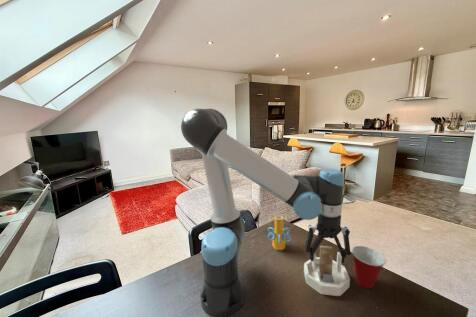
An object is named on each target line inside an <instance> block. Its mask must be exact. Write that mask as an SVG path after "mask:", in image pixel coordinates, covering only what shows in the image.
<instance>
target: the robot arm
mask: <svg viewBox="0 0 476 317" xmlns="http://www.w3.org/2000/svg"><path fill="white" fill-rule="evenodd" d="M181 120H182V121H181V124H180V125H181V126H180V128H181V129H180V130H181V133H182V136H183V138H184V140H186V142H187V143H188V144H190V146H192V147H193V148H195V149H196V151H197V152H199V153H200V154H201V157H202V161H203V162H202V163H203V167H204V173H205V178H206V182H207V188H208V192H209V196H210V202H211V206H212V211H213V213H212V215H211V216H210V222H211V223H210V224H211V226H212V229H211V230H209V231H208V232H207V233H205V235H204V236H203V238H202V241H201V251H200V252H201V258H202V269H203V270H202V271H203V283H202V286H201V289H200V295H199V297H200V306H201V307H202V309H203V310H204V311H205V313H206V314H208V315H210V316H212V317H227V316H230V315H233V314H235V313H236V312H237V311H238V310H239V309H241V307H242V305H243V304H244V300H245V290H244V289H245V288H244V285H243V283H242V281H241V279H240V276H239V264H238V263H239V261H238V260H239V254H240V250H241V246H242V243H243V238H244V236H245V233H246V224H245V220H244V219H243V218H244V217H242V216H241V212H240V210H239V209H237V207H236V205H235V204H236V203H235V198H234V193H233V187H232V181H231V177H230V176H231V175H230V170H229V167H230V168H232V169H233V170H235V171H236V172H238V173H239V174H241V175H243V176H244V177H245V178H247V179H248V180H250V181H252V182H253V183H254V184H256V185H257V186H260V187H261V188H263V189H264V190H265V191H267V192H268V193H270V194H272V195H273V196H274V197H276V198H278V199H279V200H280V201H283V202H284V203H285V204H287V205H288V206H289V207H291V208H293V212H295V214H296V215H297V217H298V218H300V219H302V220H306V221H309V220H310V221H311V220H314V219H316V218H317V223H316V224H315V225H311V224H309V225H308V234H307V237H306V241H305V245H304V248H305V252H306V253H309V260H311V261H312V267H313V270H316V257H317V253H316V251H317V249H318V248H319V247H320V246H321V245H320V244H321V243H322V241H324V239H334V242H335V243H336V247H337V248H338V250H339V251H337V254H336V262H337V265H336V268H337V270H338V272H340V273H341V265H342V264H344V263H345V259H346V257H347V256H351V254H352V251H351V243H350V237H349V236H350V233H351V231H350V229H349V228H348V227H347V226H344V227H342V226H341V223H342V222H341V221H342V212H343V210H342V209H343V195H344V186H345V184H344V183H345V181H344V180H345V176H344V173H343V172H342V171H341V170H340V169H339V170H338V169H334V168H324V169H321V170H320V171H319V174H318V175H303V174H302V175H297V174H294V175H293V174H292V175H291V174H289V173H287V172H286V171H284V170H283V169H282V168H280V167H278V166H276V165H275V164H273V163H272V162H270V161H269V160H267V159H266V158H265V157H263V156H261V155H260V154H258V153H257V152H255V151H253V149H251V148H249V147H248V146H245V145H244V144H243V143H241V142H240V141H238V140H237V139H235V138H233V137H232V136H230V135H229V134H228V133H227V130H228V120H227V119H226V117H225V115H223V113H222V112H220V111H218V110H216V109H214V108H194V109H191V110H190V111H188V112H187V113H186V114H184V117H183V118H182V119H181ZM316 231H317V232H318V233H317V235H316V237H315V238H314V234H315V233H316ZM340 233H342V237H343V247H344V249H343V247H342V244H341V242H340V240H339V237H338V235H339V234H340Z"/></svg>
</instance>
